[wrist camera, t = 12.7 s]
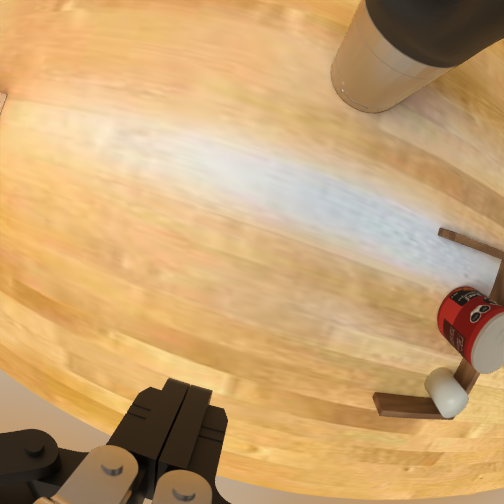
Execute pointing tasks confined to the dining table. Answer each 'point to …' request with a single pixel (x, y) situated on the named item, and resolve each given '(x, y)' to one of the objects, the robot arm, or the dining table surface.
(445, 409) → the grey rounded capsule
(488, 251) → the u-shaped frame
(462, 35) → the robot arm
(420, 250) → the dining table surface
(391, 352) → the dining table surface
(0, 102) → the gable box
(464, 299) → the canned food
